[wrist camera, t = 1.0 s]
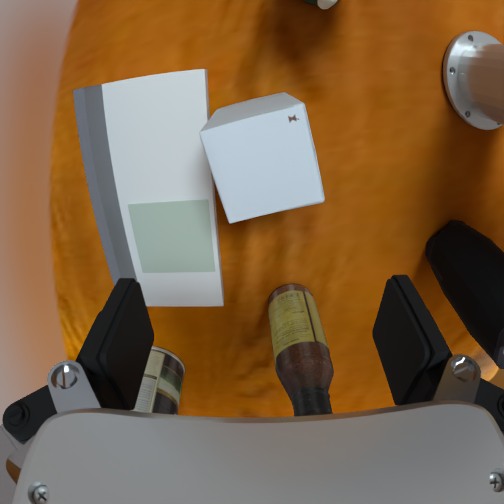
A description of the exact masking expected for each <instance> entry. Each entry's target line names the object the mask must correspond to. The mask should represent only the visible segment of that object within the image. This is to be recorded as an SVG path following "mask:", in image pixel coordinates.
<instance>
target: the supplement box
mask: <svg viewBox="0 0 504 504" xmlns="http://www.w3.org/2000/svg"><path fill="white" fill-rule="evenodd" d="M199 135H200V139H201V142H202V145H203V148H204V151H205V154H206V157H207V160H208V164H209V167H210V170H211V173H212V176H213V179H214V181H215V184H216V187H217V190H218V193H219V196H220V199H221V202H222V205H223V208H224V211H225V213H226V216H227V219H228V222H229V223H234V222H238V221H242V220H246V219H250V218H254V217H258V216H262V215H266V214H270V213H275V212H279V211H284V210H289V209H294V208H299V207H303V206H308V205H313V204H318V203H322V202H324V199H325V198H324V192H323V187H322V182H321V177H320V172H319V167H318V162H317V156H316V151H315V147H314V143H313V139H312V134H311V130H310V125H309V121H308V116H307V112H306V107H305V104H304V103H302V102H301V101H299V100H297V99H296V98H294V97H292V96H290V95H289V94H287V93H285V92H283V93H278V94H274V95H269V96H265V97H260V98H256V99H251V100H248V101H244V102H240V103H237V104H233V105H229V106H226V107H222V108H219V109H217V110H216V111H215V113H214V114H213V115H212V116H211V118H210V119H209V120H208V122H207V123H206V124H205V125H204V127H203V128H202V129H201V131H200V132H199Z"/></svg>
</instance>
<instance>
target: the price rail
mask: <svg viewBox="0 0 504 504" xmlns="http://www.w3.org/2000/svg"><path fill="white" fill-rule="evenodd" d="M73 95H74V104H75V112H76V120H77V127H78V134H79V140H80V146H81V152H82V158H83V163H84V168H85V174H86V179H87V184H88V188H89V193H90V197H91V202H92V206H93V211H94V215H95V219H96V223H97V227H98V231H99V235H100V238H101V242H102V246H103V249H104V253H105V256H106V260H107V263H108V267H109V270H110V273H111V277H112V280H113V283H114V286H115V285H116V283H117V281H118V279H119V278H134V279H135V280H136V282H138V281H137V277H136V274H135V270H134V266H133V262H132V258H131V254H130V250H129V246H128V242H127V237H126V233H125V228H124V224H123V219H122V215H121V210H120V205H119V200H118V195H117V190H116V184H115V179H114V173H113V167H112V161H111V155H110V149H109V142H108V135H107V128H106V120H105V111H104V103H103V93H102V85H95V86H89V87H84V88H80V89H76V90H73Z"/></svg>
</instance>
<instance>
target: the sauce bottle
mask: <svg viewBox="0 0 504 504" xmlns="http://www.w3.org/2000/svg"><path fill="white" fill-rule="evenodd" d="M268 312H269V320H270V328H271V336H272V344H273V351H274V360H275V367H276V373H277V375H278V378H279V379H280V381H281V383H282V385H283V387H284V389H285V390H286V392H287V394H288V396H289V398H290V400H291V401H292V405H293V409H294V416H295V417H296V416H313V415H326V414H333V413H332V409H331V404H330V400H329V398H330V395H329V393H328V390H329V386H330V383H331V380H332V377H333V373H334V372H333V366H332V361H331V358H330V352H329V348H328V344H327V341H326V337H325V334H324V331H323V327H322V324H321V320H320V316H319V313H318V310H317V306H316V303H315V300H314V298H313V295H312V294H311V292H310V291H309V290H308V289H306V288H305V287H303V286H302V285H299V284H289V285H284V286H281V287H279V288H277V289H276V290H275V291H274V292H273V293H272V295H271V296H270V299H269V309H268Z"/></svg>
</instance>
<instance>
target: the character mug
mask: <svg viewBox="0 0 504 504" xmlns="http://www.w3.org/2000/svg"><path fill="white" fill-rule="evenodd" d="M303 1H305V2H307V3H309V4H314V5H318V6H319V7H320V8H321V9H329V8H330V7H331V6H333V5H334V4H335V3H336V2H337V1H338V0H303Z"/></svg>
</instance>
